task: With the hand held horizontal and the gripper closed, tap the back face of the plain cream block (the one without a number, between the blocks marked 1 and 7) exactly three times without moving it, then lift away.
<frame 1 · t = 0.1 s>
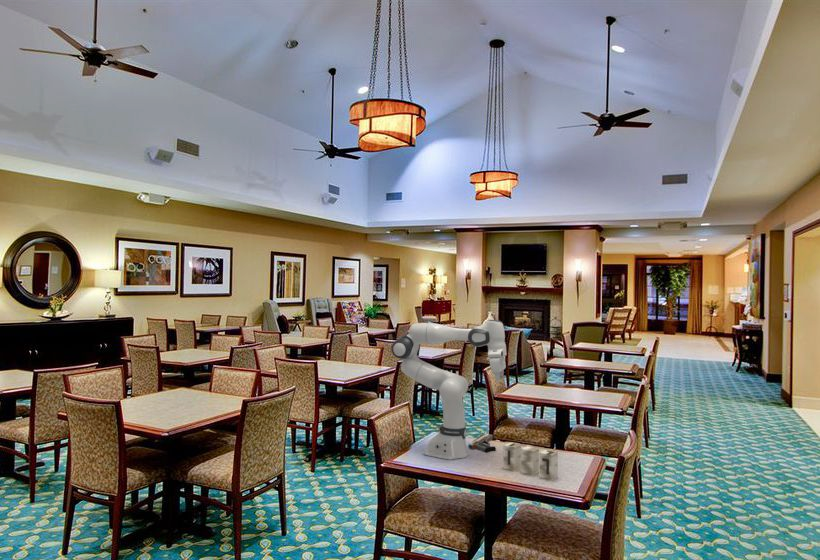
hand: (499, 380, 254), 39 cm above the table, tool pointing down, fingers open, 8 cm apart
block one: (512, 468, 240), on the table
toy gun: (487, 445, 279), on the table
block seven: (548, 477, 229), on the table
plain block: (529, 473, 235), on the table
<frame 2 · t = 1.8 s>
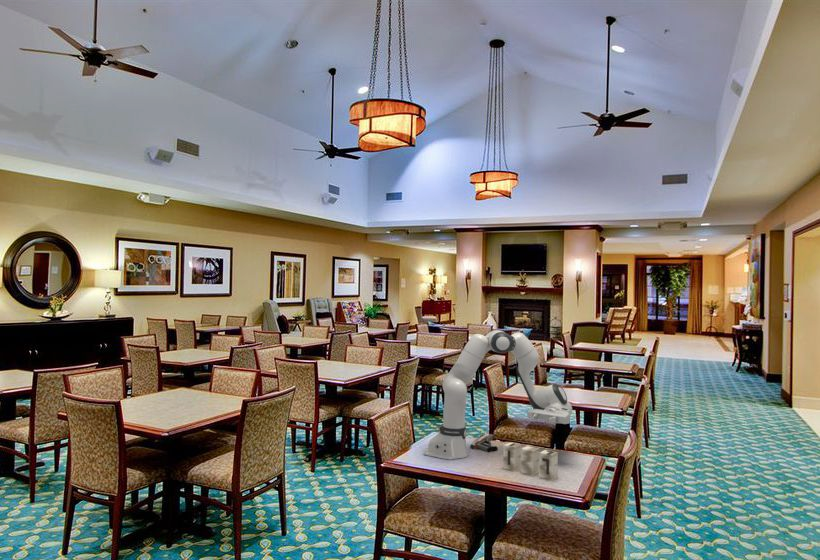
hand: (541, 419, 245), 22 cm above the table, tool horizontal, fingers open, 6 cm apart
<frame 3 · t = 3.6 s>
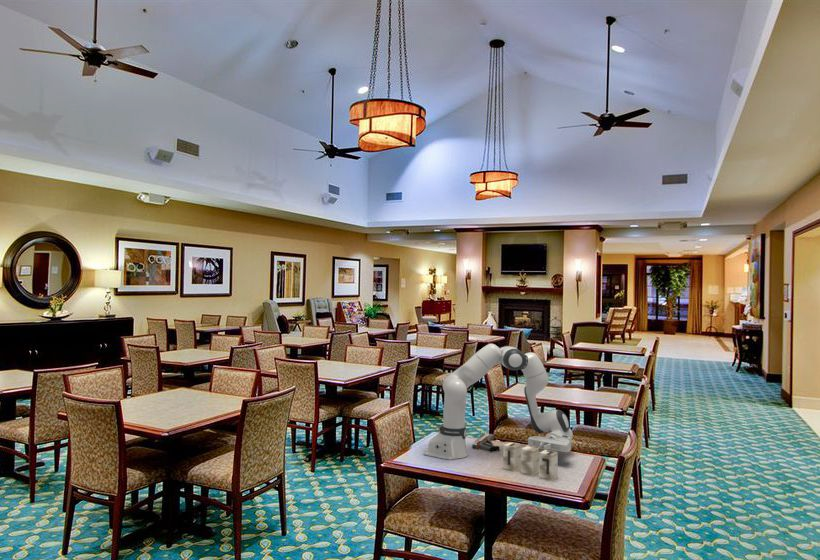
hand: (542, 447, 244), 9 cm above the table, tool horizontal, fingers closed
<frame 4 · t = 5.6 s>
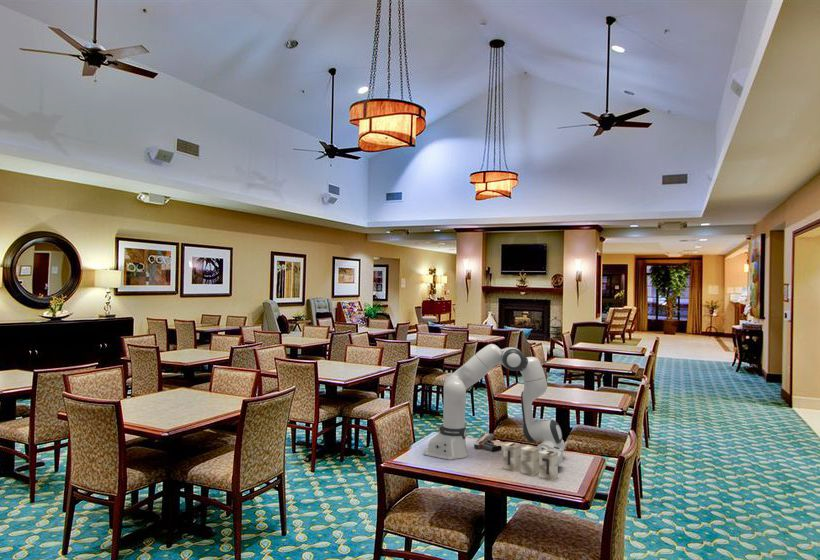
hand: (532, 459, 237), 6 cm above the table, tool horizontal, fingers closed, pressing on plain block
plain block: (529, 472, 235), on the table, touching gripper
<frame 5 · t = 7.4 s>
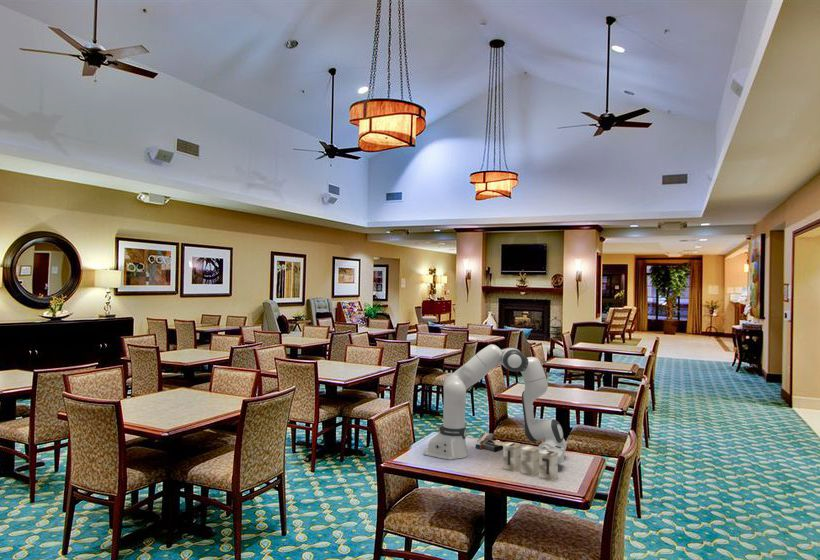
hand: (534, 458, 239), 5 cm above the table, tool horizontal, fingers closed
plain block: (529, 473, 235), on the table
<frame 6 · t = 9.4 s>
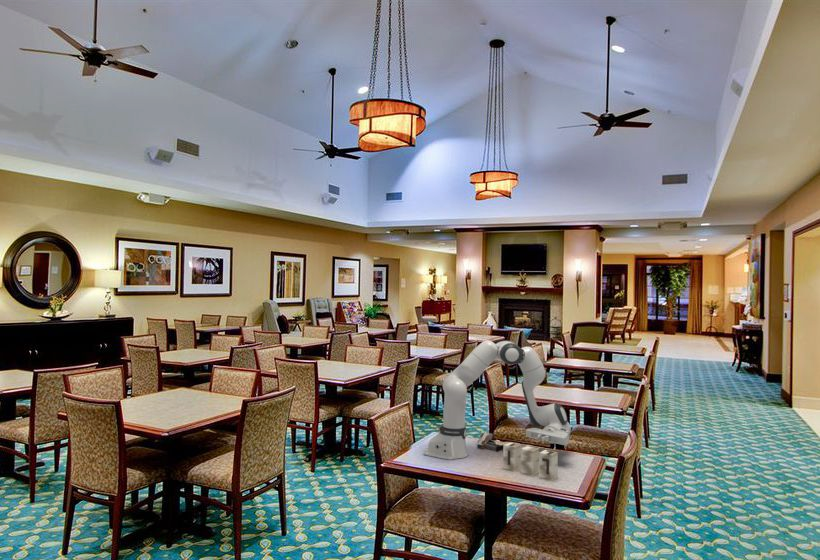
hand: (539, 439, 244), 13 cm above the table, tool horizontal, fingers closed
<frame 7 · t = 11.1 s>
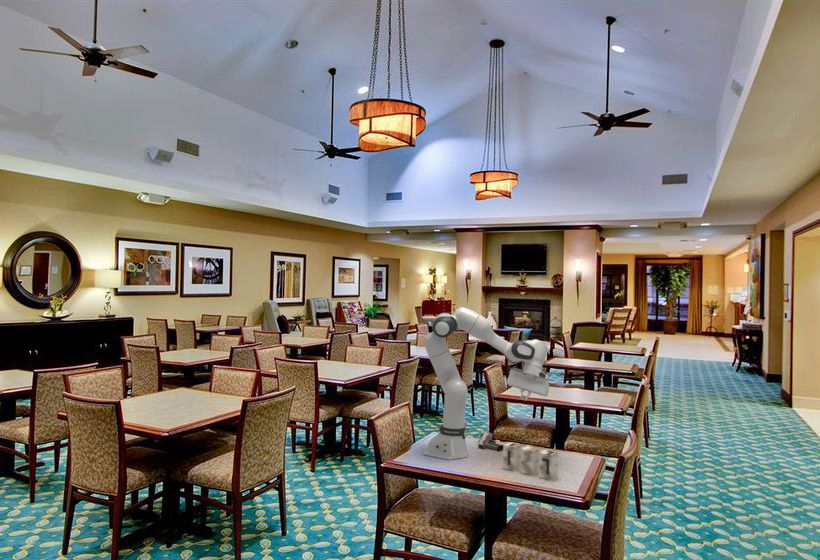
hand: (523, 399, 249), 30 cm above the table, tool tilted 25°, fingers closed
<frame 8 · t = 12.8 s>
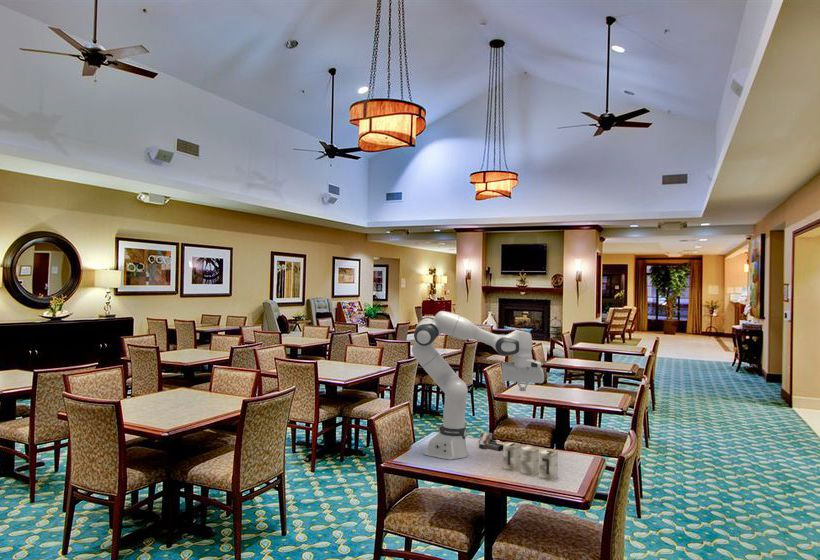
hand: (522, 391, 252), 34 cm above the table, tool pointing down, fingers closed
at the end: plain block moved 0.1 cm from its start; plain block tilted 0°; block seven moved 0.0 cm from its start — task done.
